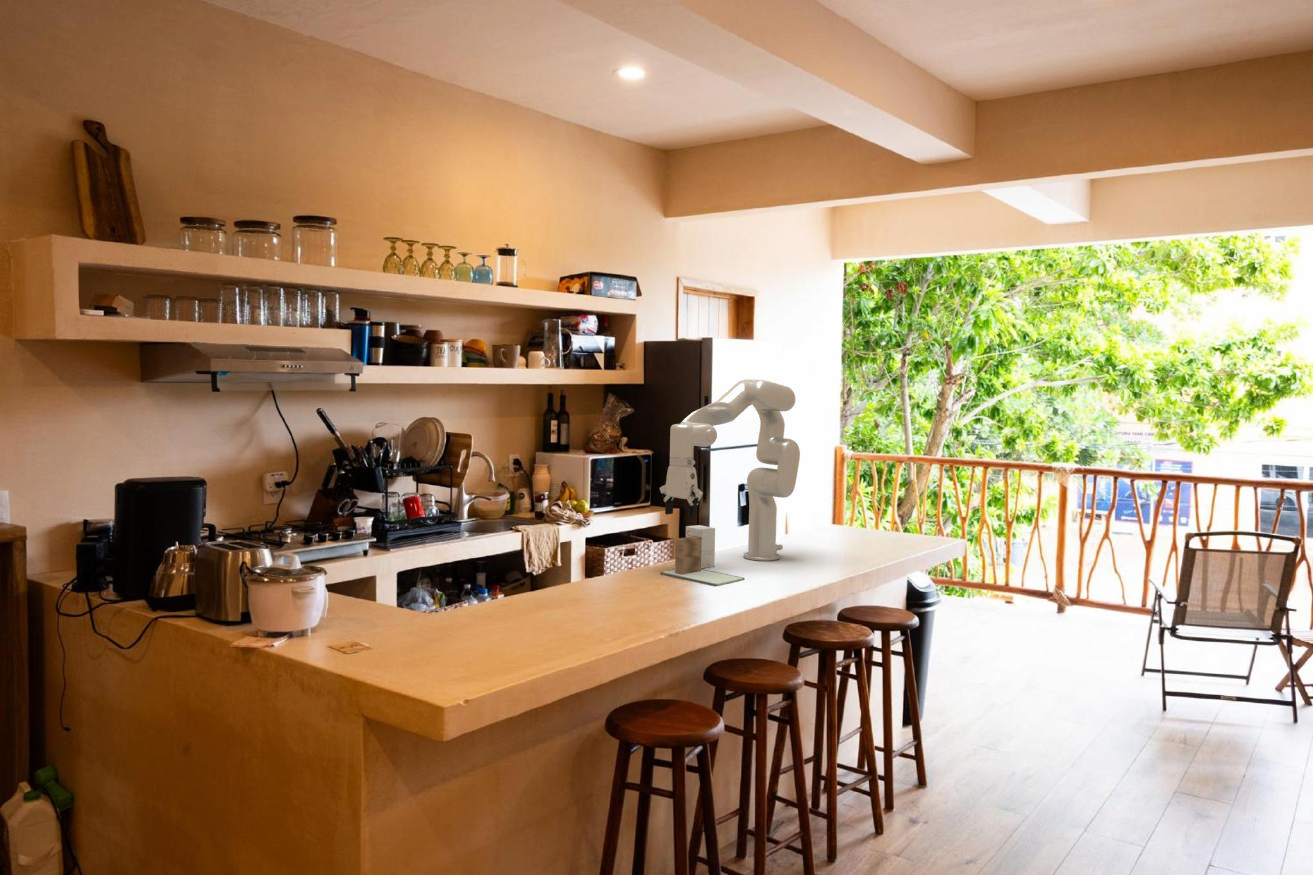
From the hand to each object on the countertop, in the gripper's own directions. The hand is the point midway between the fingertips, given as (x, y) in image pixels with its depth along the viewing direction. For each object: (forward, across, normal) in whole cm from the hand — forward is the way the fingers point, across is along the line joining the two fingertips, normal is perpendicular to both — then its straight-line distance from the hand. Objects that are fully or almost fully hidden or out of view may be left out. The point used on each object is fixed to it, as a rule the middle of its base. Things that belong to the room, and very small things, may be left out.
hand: (680, 515), depth 309 cm
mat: (+18, -10, 0) cm, 21 cm away
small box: (+19, +2, -13) cm, 23 cm away
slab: (+18, -4, 0) cm, 18 cm away
